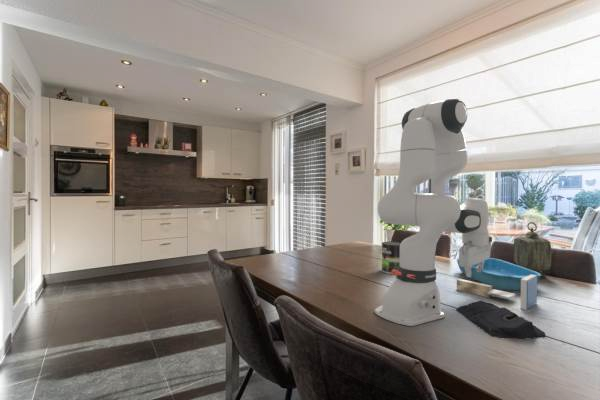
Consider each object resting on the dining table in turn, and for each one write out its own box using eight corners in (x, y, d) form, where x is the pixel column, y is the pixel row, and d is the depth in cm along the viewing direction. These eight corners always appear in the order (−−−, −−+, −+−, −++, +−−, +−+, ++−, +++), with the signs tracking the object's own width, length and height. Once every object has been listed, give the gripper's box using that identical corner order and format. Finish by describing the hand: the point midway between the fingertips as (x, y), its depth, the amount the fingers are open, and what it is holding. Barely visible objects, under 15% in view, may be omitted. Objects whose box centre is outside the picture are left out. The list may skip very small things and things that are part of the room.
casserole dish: (554, 293, 119) (554, 275, 119) (498, 294, 118) (498, 276, 118) (491, 269, 156) (491, 255, 156) (448, 270, 155) (448, 256, 155)
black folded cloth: (496, 309, 104) (496, 295, 104) (551, 340, 82) (551, 322, 82) (452, 309, 104) (452, 295, 104) (495, 341, 82) (495, 323, 82)
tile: (537, 303, 108) (537, 275, 108) (527, 310, 102) (527, 280, 102) (530, 302, 110) (530, 274, 109) (520, 308, 104) (520, 279, 103)
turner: (454, 290, 123) (454, 280, 123) (461, 287, 127) (461, 278, 127) (509, 304, 108) (509, 292, 108) (515, 300, 112) (515, 289, 112)
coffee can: (391, 275, 146) (391, 245, 145) (377, 270, 155) (377, 242, 155) (407, 272, 150) (408, 244, 150) (393, 268, 159) (393, 241, 159)
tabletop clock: (551, 279, 138) (551, 223, 137) (528, 278, 139) (529, 223, 138) (532, 271, 152) (532, 220, 151) (511, 270, 153) (512, 220, 153)
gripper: (471, 244, 111) (471, 281, 112) (494, 237, 124) (493, 270, 125) (454, 241, 116) (453, 277, 117) (477, 235, 129) (476, 267, 129)
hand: (474, 274), depth 121 cm, fingers open, 8 cm apart
